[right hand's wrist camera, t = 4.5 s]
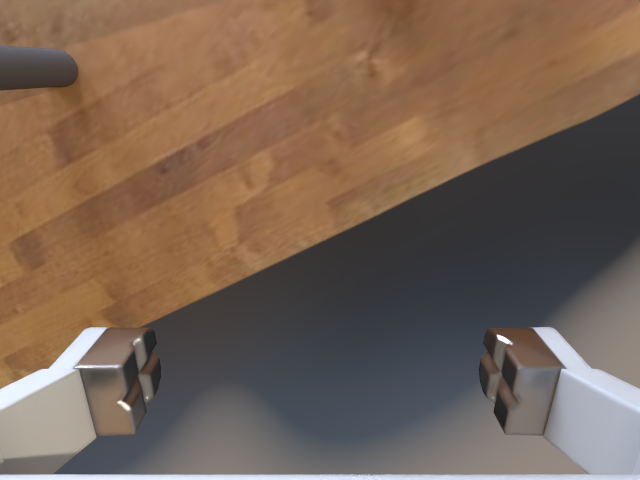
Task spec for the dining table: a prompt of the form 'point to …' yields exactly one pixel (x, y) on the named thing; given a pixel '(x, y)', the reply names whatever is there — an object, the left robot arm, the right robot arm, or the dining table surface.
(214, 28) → the dining table surface
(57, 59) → the dark grey cylinder
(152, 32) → the dining table surface
